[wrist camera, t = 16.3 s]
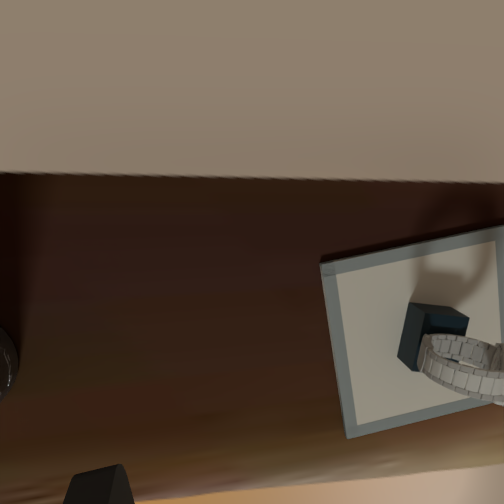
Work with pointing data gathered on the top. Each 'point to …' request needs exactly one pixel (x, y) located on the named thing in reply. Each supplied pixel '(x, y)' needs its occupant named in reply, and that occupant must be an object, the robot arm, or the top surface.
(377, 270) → the mat
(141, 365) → the top surface
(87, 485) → the robot arm
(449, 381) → the watch
